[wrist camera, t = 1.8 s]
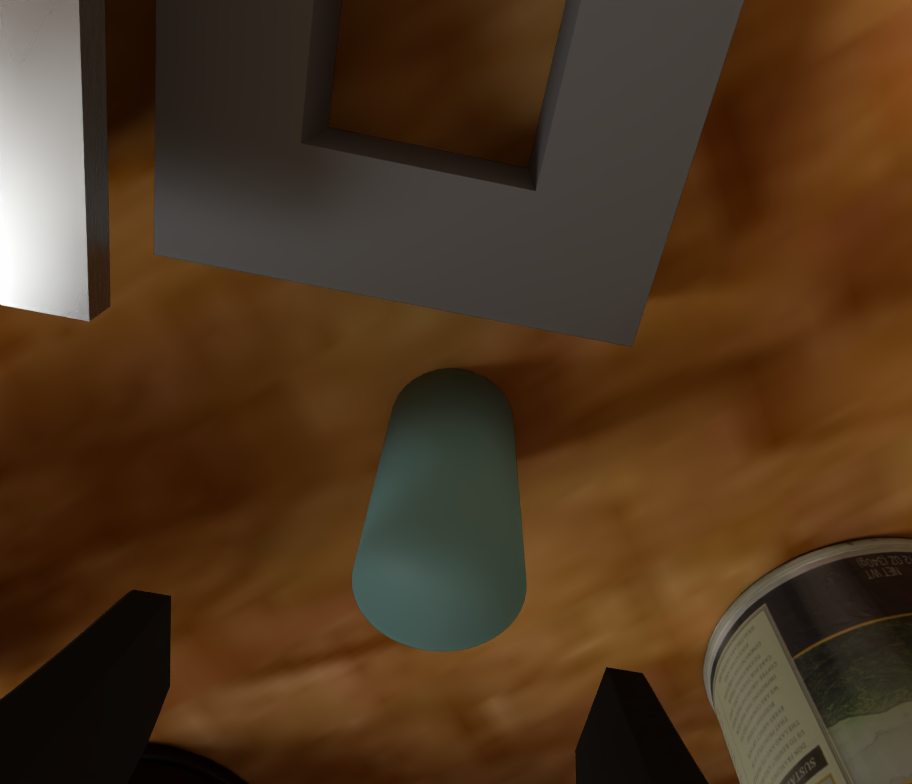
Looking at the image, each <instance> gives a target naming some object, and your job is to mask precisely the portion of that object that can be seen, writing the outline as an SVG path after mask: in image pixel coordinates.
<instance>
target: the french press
mask: <svg viewBox="0 0 912 784" xmlns="http://www.w3.org/2000/svg"><path fill="white" fill-rule="evenodd" d="M127 784H247V783H245V782H244V781H243V780H241V779H240V778H239V777H237V776H236V775H235V774H234V773H232V772H231V771H229V770H227V769H226V768H224V767H222V766H220V765H218V764H216V763H215V762H213V761H211V760H209V759H206V758H203V757H201V756H198V755H196V754H193V753H190V752H187V751H183V750H179V749H175V748H171V747H167V746H160V745H152V744H147V745H146V748H145V750H144V752H143V754H142V756H141V758H140V760H139V762H138V764H137V766H136V768H135V769H134V771H133V773H132V775H131V777H130V779H129V781H128V783H127Z"/></svg>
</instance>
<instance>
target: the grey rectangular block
mask: <svg viewBox="0 0 912 784" xmlns="http://www.w3.org/2000/svg"><path fill="white" fill-rule="evenodd" d="M0 305H4V306H9V307H15V308H20V309H25V310H31V311H36V312H41V313H47V314H52V315H57V316H63V317H68V318H73V319H79V320H84V321H91V320H92V319H93V318H95V317H96V316H98V315H99V314H100V313H102V312H103V311H105V310H106V309H107V308H109V307H110V253H109V200H108V147H107V94H106V41H105V0H0Z"/></svg>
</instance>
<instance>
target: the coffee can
mask: <svg viewBox="0 0 912 784" xmlns="http://www.w3.org/2000/svg"><path fill="white" fill-rule="evenodd" d="M703 676H704V683H705V687H706V692H707V696H708V699H709V701H710V704H711V706H712V708H713V710H714V712H715V713H716V716H717V718H718V721H719V723H720V726H721V729H722V732H723V735H724V738H725V741H726V744H727V747H728V750H729V753H730V756H731V759H732V762H733V765H734V767H735V770H736V773H737V776H738V779H739V782H740V784H912V539H911V538H870V539H862V540H856V541H850V542H846V543H842V544H837V545H832V546H829V547H825V548H821V549H818V550H815V551H811V552H809V553H806V554H804V555H802V556H800V557H797V558H795V559H793V560H791V561H789V562H787V563H785V564H783V565H781V566H779V567H777V568H776V569H774V570H772V571H771V572H769V573H768V574H766V575H765V576H763V577H762V578H760V579H759V580H758V581H756V582H755V583H754V584H752V585H751V586H750V587H749V588H747V589H746V590H745V591H744V592H743V593H741V595H740V596H739V597H738V598H737V599H736V600H735V601H734V602H733V604H732V605H731V606H730V607H729V608H728V609H727V611H726V612H725V614H724V615H723V616H722V618H721V619H720V621H719V622H718V624H717V625H716V627H715V630H714V632H713V634H712V636H711V638H710V640H709V644H708V647H707V651H706V655H705V660H704V668H703Z"/></svg>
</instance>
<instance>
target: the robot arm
mask: <svg viewBox="0 0 912 784" xmlns="http://www.w3.org/2000/svg"><path fill="white" fill-rule="evenodd" d="M170 632H171V596H169V595H162V594H156V593H150V592H144V591H138V590H132V591H130V592H129V593H127V594H126V595H124V596H123V597H122V598H121V599H120V600H119V601H118V602H117V603H115V604H114V605H113V606H112V607H111V608H110V609H109V610H107V611H106V612H105V613H104V614H103V615H102V616H101V617H100V618H98V619H97V620H96V621H95V622H94V623H93V624H92V625H90V626H89V627H88V628H87V629H86V630H85V631H84V632H82V633H81V634H80V635H79V636H78V637H77V638H75V639H74V640H73V641H72V642H71V643H69V644H68V645H67V646H66V647H65V648H64V649H62V650H61V651H60V652H59V653H58V654H56V655H55V656H54V657H53V658H52V659H50V660H49V661H48V662H47V663H45V664H44V665H43V666H42V667H40V668H39V669H38V670H37V671H36V672H34V673H33V674H32V675H31V676H29V677H28V678H27V679H26V680H25V681H23V682H22V683H21V684H20V685H18V686H17V687H16V688H15V689H13V690H12V691H11V692H9V693H8V694H7V695H6V696H4V697H3V698H2V699H0V784H127V783H128V781H129V779H130V777H131V775H132V773H133V771H134V769H135V768H136V766H137V764H138V762H139V760H140V758H141V756H142V754H143V752H144V750H145V748H146V745H147V743H148V741H149V738H150V736H151V733H152V731H153V728H154V726H155V723H156V721H157V718H158V716H159V713H160V711H161V708H162V705H163V703H164V700H165V698H166V695H167V692H168V690H169V687H170ZM575 754H576V784H709V783H708V782H707V780H706V779H705V777H704V775H703V774H702V772H701V771H700V769H699V768H698V766H697V764H696V763H695V761H694V759H693V758H692V756H691V754H690V753H689V751H688V749H687V748H686V746H685V744H684V743H683V741H682V739H681V738H680V736H679V734H678V733H677V731H676V729H675V728H674V726H673V724H672V722H671V721H670V719H669V717H668V716H667V714H666V712H665V710H664V709H663V707H662V705H661V703H660V702H659V700H658V698H657V696H656V695H655V693H654V691H653V690H652V688H651V686H650V684H649V683H648V681H647V679H646V678H645V676H644V675H643V673H638V672H632V671H626V670H620V669H614V668H608V667H606V670H605V673H604V675H603V678H602V681H601V683H600V686H599V689H598V691H597V694H596V697H595V699H594V702H593V705H592V707H591V710H590V713H589V715H588V718H587V721H586V723H585V726H584V729H583V731H582V734H581V737H580V739H579V742H578V745H577V747H576V750H575Z"/></svg>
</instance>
